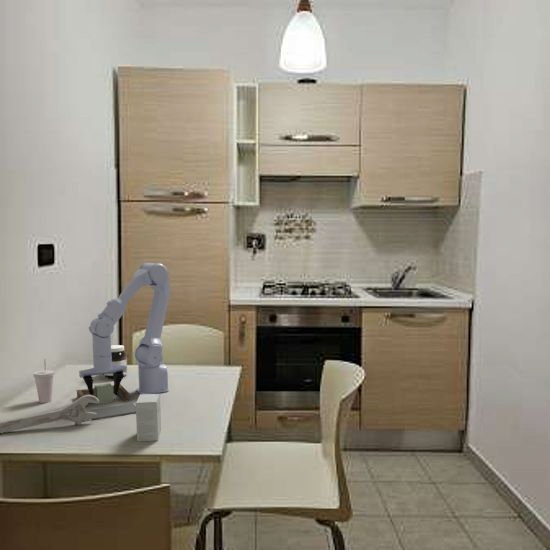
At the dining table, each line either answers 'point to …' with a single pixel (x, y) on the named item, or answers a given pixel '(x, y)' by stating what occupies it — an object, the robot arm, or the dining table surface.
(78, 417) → the wrench
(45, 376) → the smoothie
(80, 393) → the wooden u-shaped frame
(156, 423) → the small box
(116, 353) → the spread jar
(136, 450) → the dining table surface
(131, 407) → the mat
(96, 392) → the cube
